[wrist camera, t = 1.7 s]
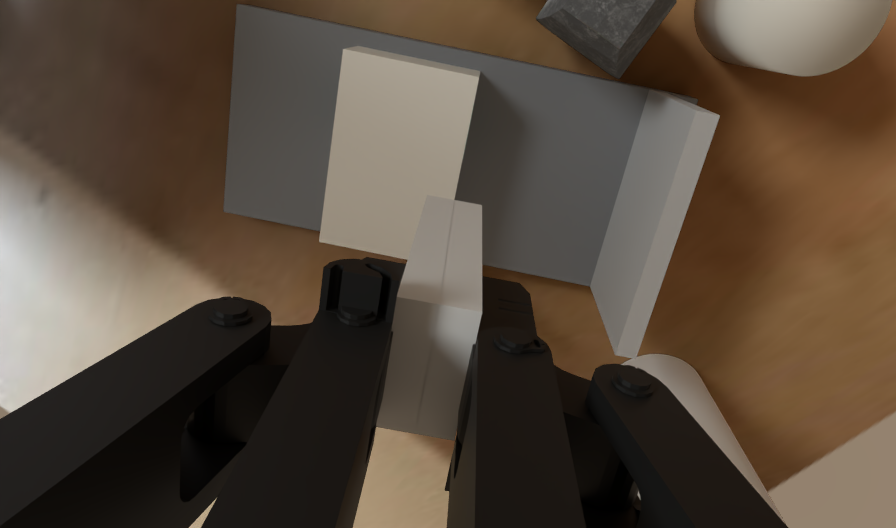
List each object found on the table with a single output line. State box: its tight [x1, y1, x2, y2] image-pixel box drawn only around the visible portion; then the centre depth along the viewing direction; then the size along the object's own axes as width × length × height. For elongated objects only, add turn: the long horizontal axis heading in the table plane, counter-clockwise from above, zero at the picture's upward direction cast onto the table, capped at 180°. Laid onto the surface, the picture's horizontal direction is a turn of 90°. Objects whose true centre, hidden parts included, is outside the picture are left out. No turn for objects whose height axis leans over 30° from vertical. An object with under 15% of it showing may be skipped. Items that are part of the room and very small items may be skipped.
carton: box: [319, 46, 480, 260], centre depth 41 cm, size 8×12×4 cm
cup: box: [621, 354, 785, 523], centre depth 44 cm, size 8×8×16 cm
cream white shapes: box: [694, 0, 892, 76], centre depth 36 cm, size 7×7×9 cm
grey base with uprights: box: [223, 4, 720, 359], centre depth 39 cm, size 30×14×12 cm, turn 79°
